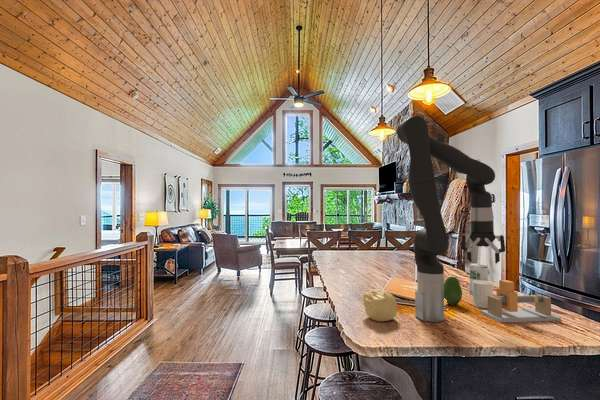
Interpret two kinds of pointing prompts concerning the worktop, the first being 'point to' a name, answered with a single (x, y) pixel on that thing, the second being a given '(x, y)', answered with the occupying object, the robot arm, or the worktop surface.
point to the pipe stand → (523, 315)
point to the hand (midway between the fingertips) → (483, 262)
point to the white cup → (481, 292)
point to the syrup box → (478, 273)
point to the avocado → (452, 291)
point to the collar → (508, 295)
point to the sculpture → (380, 305)
